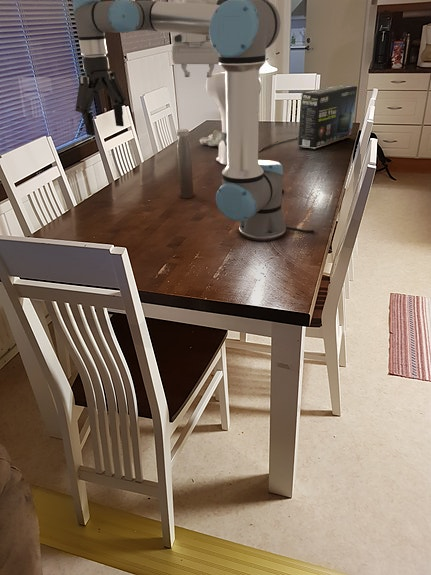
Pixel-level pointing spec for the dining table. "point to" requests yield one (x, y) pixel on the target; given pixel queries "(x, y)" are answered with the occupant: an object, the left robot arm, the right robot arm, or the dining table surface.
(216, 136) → the fossil
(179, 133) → the cap
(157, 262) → the dining table surface
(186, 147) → the bottle
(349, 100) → the router box
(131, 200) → the dining table surface
